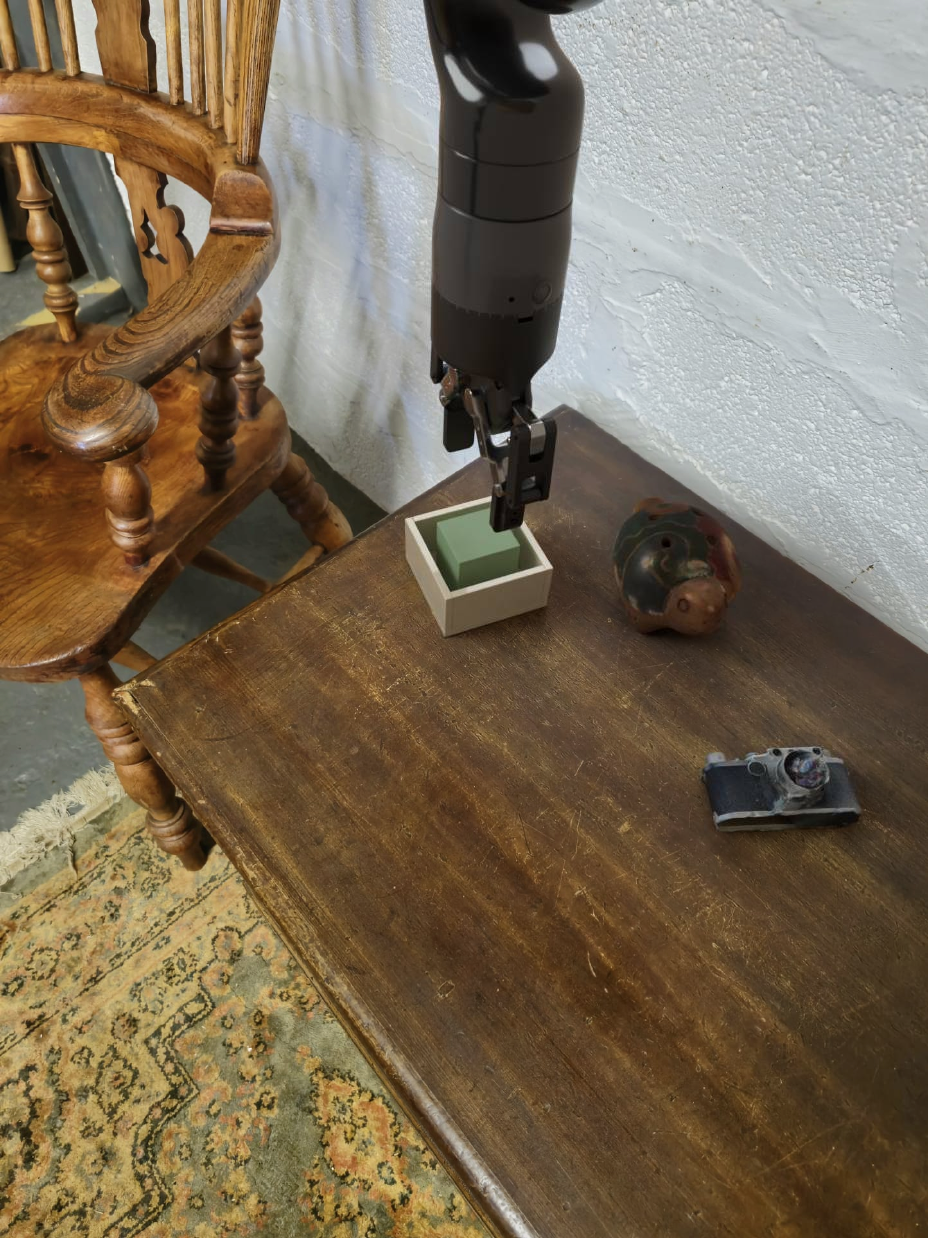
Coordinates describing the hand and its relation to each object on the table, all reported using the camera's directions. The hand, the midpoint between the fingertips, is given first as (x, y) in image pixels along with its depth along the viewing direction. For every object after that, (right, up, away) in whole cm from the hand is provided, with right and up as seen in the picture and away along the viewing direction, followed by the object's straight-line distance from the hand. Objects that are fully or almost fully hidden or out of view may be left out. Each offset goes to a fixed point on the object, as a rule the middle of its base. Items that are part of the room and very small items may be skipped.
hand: (481, 485), depth 60 cm
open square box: (0, -6, +8) cm, 11 cm away
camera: (+20, -22, -2) cm, 29 cm away
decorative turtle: (+15, -8, +8) cm, 19 cm away
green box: (0, -6, +8) cm, 10 cm away
